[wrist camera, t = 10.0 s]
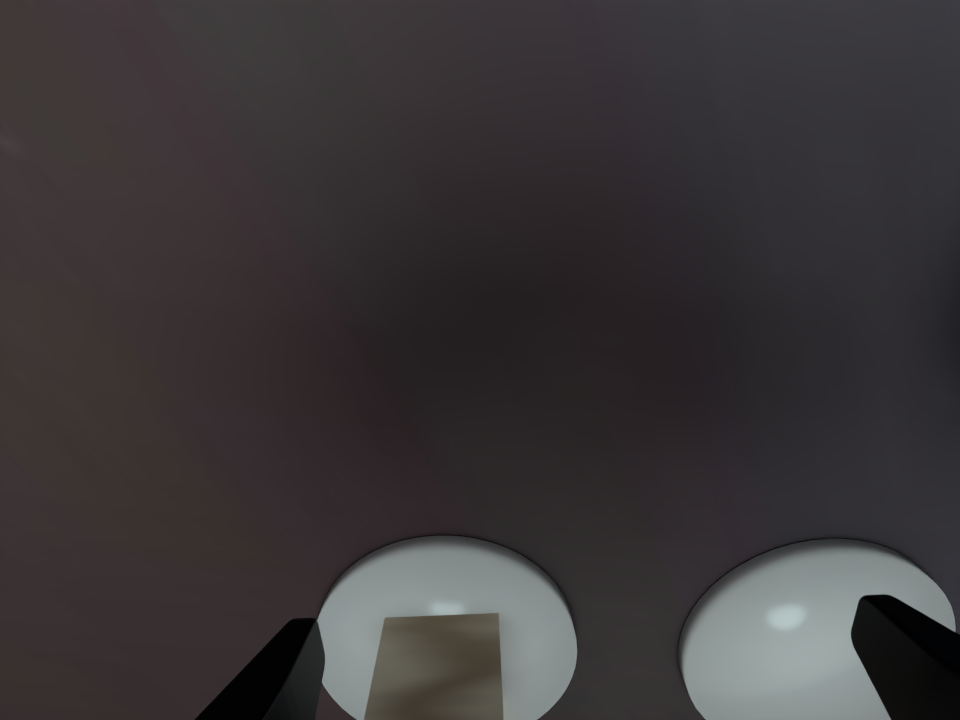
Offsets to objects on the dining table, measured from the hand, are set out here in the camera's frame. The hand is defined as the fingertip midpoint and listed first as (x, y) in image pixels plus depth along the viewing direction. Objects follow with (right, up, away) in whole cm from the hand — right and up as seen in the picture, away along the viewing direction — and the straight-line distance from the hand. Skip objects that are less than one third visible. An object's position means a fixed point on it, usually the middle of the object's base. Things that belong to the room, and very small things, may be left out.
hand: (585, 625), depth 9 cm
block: (-3, -9, +15) cm, 18 cm away
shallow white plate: (+14, -9, +16) cm, 23 cm away
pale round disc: (-3, -9, +16) cm, 19 cm away
